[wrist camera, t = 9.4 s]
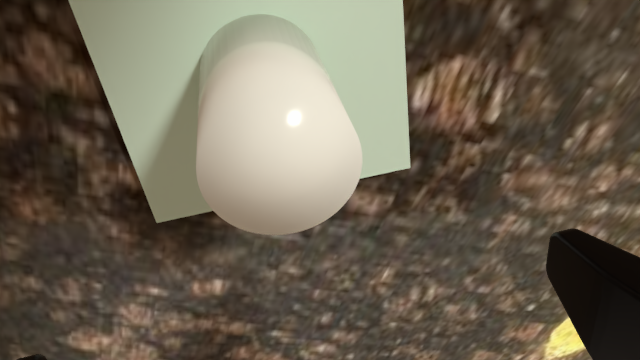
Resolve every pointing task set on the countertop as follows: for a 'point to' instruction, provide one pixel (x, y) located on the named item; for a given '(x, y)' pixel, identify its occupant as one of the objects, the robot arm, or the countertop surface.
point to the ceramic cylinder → (272, 129)
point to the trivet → (183, 79)
